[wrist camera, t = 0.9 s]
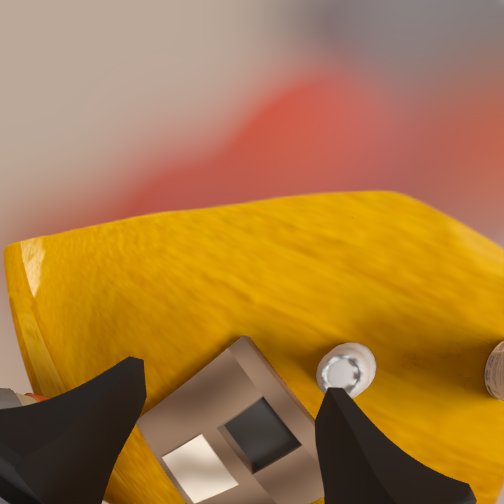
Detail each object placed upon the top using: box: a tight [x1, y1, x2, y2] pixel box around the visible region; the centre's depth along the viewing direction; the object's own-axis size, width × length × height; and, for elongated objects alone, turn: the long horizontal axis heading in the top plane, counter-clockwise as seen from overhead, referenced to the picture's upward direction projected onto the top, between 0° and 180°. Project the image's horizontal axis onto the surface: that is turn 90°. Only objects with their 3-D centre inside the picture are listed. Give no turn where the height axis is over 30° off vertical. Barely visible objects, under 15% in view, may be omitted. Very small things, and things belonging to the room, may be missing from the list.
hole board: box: [136, 336, 324, 504], centre depth 21 cm, size 16×16×2 cm
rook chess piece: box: [316, 342, 377, 398], centre depth 18 cm, size 4×4×8 cm
